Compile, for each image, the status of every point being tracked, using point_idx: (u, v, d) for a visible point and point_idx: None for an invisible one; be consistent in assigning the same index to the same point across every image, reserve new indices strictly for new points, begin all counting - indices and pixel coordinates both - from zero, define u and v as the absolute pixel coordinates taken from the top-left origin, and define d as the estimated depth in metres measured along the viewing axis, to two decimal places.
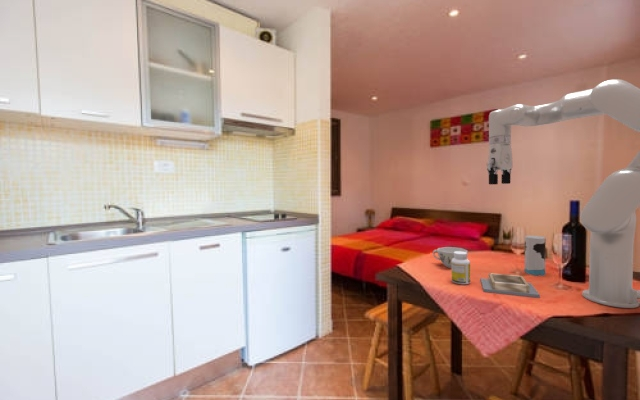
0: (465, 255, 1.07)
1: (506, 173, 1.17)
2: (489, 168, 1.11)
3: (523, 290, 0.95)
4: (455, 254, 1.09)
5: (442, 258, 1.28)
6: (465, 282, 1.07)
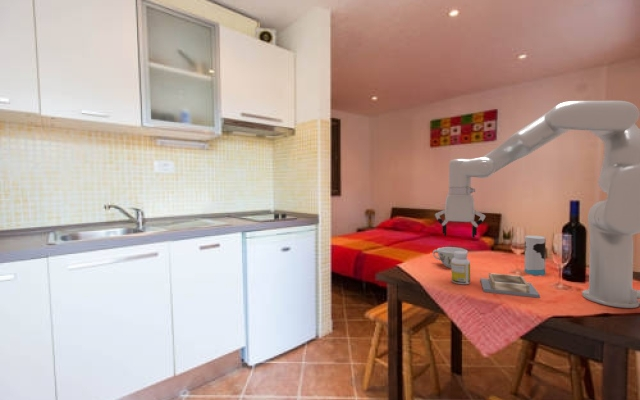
0: (465, 255, 1.07)
1: None
2: None
3: (523, 290, 0.95)
4: (455, 254, 1.09)
5: (442, 258, 1.28)
6: (465, 282, 1.07)
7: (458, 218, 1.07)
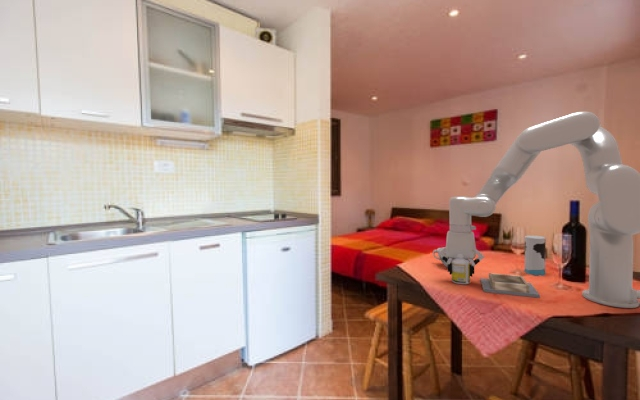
0: None
1: None
2: None
3: (523, 290, 0.95)
4: None
5: None
6: (465, 282, 1.07)
7: None
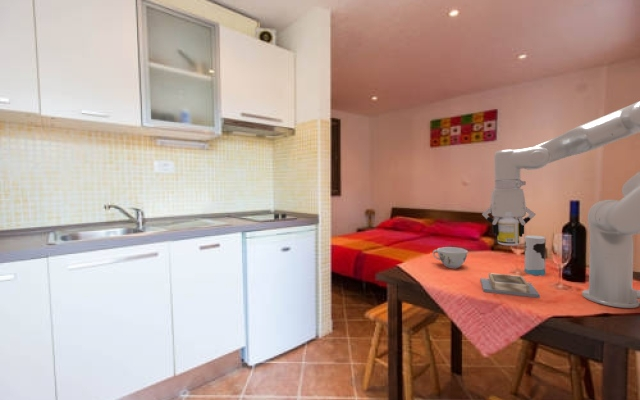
0: None
1: (496, 223, 1.02)
2: None
3: (523, 290, 0.95)
4: None
5: (442, 258, 1.28)
6: (514, 242, 0.98)
7: None
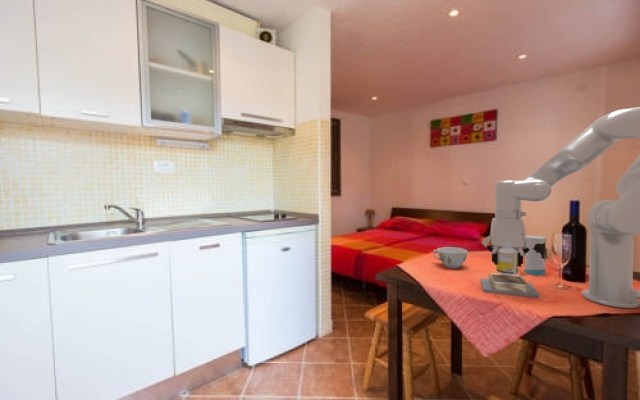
0: None
1: None
2: None
3: (523, 290, 0.95)
4: None
5: (442, 258, 1.28)
6: (513, 273, 0.98)
7: None
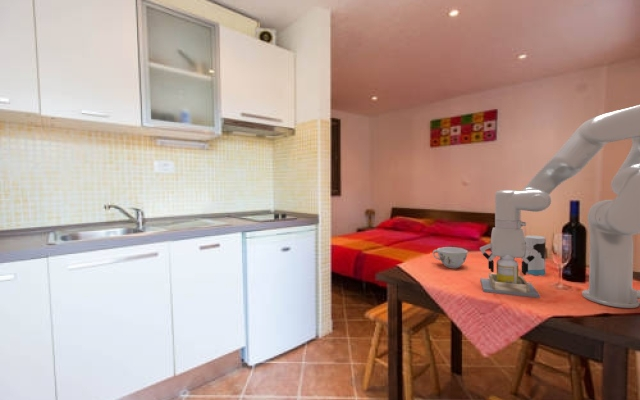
0: None
1: (492, 259, 1.04)
2: None
3: (523, 290, 0.95)
4: None
5: (442, 258, 1.28)
6: None
7: (507, 253, 0.99)
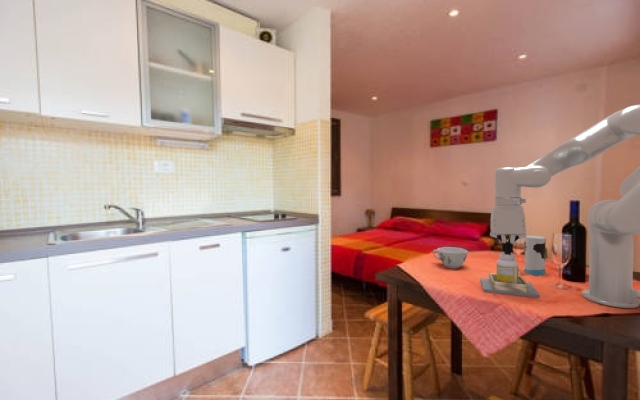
0: (513, 256, 0.99)
1: None
2: None
3: (523, 290, 0.95)
4: (502, 255, 1.01)
5: (442, 258, 1.28)
6: None
7: (507, 231, 0.99)
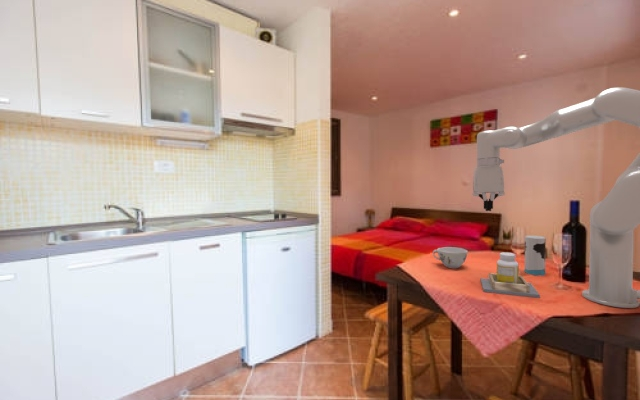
0: (514, 257, 0.99)
1: None
2: None
3: (523, 290, 0.95)
4: (502, 255, 1.00)
5: (442, 258, 1.28)
6: None
7: (487, 189, 1.08)
